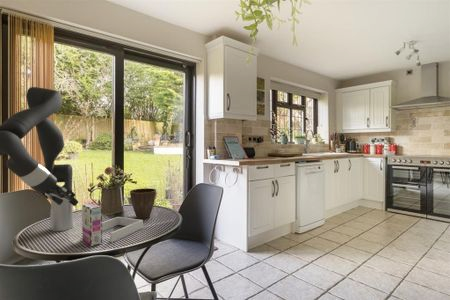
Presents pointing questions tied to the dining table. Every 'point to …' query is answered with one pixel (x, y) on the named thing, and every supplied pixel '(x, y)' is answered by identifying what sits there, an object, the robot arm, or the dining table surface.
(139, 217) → the plant pot
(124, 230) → the grey bracket
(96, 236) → the candy bar box
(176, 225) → the dining table surface
